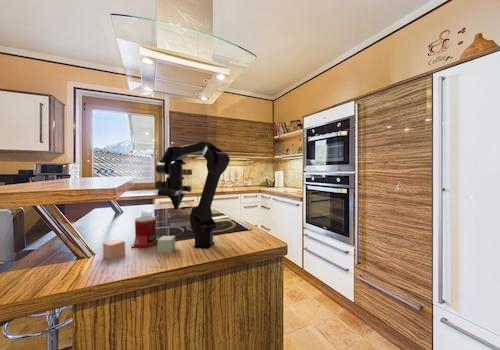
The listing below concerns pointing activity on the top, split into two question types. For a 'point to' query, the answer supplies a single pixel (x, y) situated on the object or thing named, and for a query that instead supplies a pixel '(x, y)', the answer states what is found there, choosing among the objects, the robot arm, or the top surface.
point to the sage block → (166, 244)
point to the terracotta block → (113, 249)
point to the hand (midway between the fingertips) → (176, 209)
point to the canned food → (145, 231)
